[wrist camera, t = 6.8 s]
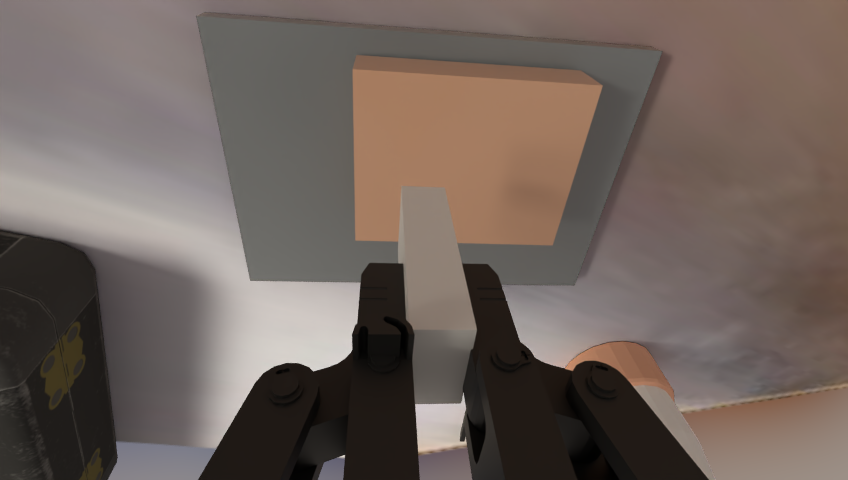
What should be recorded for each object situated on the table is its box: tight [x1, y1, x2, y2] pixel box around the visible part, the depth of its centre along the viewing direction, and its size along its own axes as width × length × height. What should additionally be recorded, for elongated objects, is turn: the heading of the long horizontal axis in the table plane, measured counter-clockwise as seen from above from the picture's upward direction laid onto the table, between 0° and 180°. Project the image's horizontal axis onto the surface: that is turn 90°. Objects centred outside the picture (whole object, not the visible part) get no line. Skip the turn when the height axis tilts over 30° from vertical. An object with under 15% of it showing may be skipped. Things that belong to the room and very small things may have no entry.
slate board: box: [196, 12, 662, 286], centre depth 22 cm, size 20×14×1 cm
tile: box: [353, 55, 603, 245], centre depth 20 cm, size 3×8×10 cm
